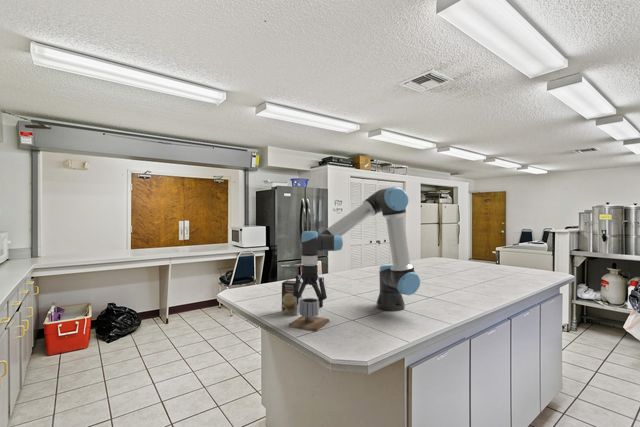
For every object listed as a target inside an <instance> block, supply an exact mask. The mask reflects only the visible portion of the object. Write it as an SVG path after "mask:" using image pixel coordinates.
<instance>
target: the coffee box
mask: <svg viewBox="0 0 640 427" xmlns="http://www.w3.org/2000/svg"><path fill="white" fill-rule="evenodd" d="M302 282H303V281H300V286H299V290H300V287H301V285H302ZM295 283H296V280H288V279H287V280H284V281H283V282H281V314H283V315H290V316H298V315H300V313H298V305H297V297H295V296H293V292H294V288H295ZM299 290H298V292H299ZM301 297H303V294H302V295H301Z"/></svg>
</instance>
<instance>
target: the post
mask: <svg viewBox="0 0 640 427" xmlns="http://www.w3.org/2000/svg"><path fill="white" fill-rule="evenodd" d="M314 317H315V316H313V317H306V316H305V322H306V323H313V322H314V321H315V318H314Z"/></svg>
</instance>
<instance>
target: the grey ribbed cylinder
mask: <svg viewBox="0 0 640 427" xmlns="http://www.w3.org/2000/svg"><path fill="white" fill-rule="evenodd" d="M318 300H319V299H318V298H313V297H308V298H307V297H306V298H303V299H301V300H300V314H299V315H300V316H306V317H313V316H314V317H318V316H319V315H317V301H318Z"/></svg>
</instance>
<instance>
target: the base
mask: <svg viewBox="0 0 640 427" xmlns="http://www.w3.org/2000/svg"><path fill="white" fill-rule="evenodd" d="M314 318H315V321H314V322H313V323H306V322H305V316H302V315H300V317H297V318H296V319H294V320H293V321H291V322H290V323H288V327H289V328H295V329H302V330H307V331H313V332H318V331H319V330H321V329H322V328H323V327H324V326H326V325H327V324H328V323H330V318H327V317H326V318H325V317H318V316H314Z"/></svg>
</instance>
